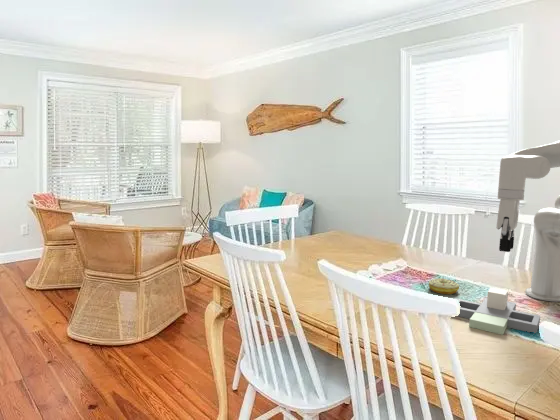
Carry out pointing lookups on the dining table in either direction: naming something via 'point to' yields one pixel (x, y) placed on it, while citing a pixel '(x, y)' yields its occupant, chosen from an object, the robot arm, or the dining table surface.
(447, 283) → the decorated donut
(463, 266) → the dining table surface
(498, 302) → the cream block
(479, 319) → the board
